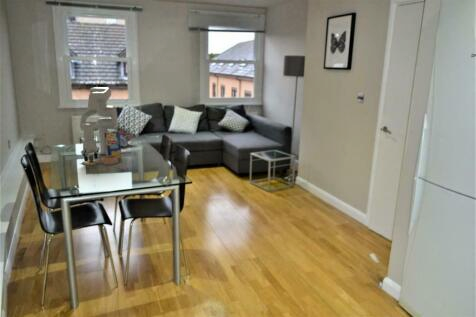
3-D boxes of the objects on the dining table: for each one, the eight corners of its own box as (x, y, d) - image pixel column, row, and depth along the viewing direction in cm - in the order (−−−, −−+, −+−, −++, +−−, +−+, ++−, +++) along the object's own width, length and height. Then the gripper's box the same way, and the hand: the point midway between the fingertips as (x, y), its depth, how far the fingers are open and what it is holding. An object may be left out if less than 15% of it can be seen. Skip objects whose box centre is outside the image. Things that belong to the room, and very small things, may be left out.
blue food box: (106, 158, 317) (104, 132, 312) (119, 156, 323) (117, 131, 318) (108, 159, 312) (106, 133, 307) (121, 158, 317) (119, 132, 312)
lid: (92, 160, 308) (91, 153, 307) (104, 162, 302) (103, 154, 301) (78, 163, 296) (77, 156, 295) (90, 165, 290) (89, 158, 289)
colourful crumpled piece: (104, 144, 355) (112, 128, 352) (108, 139, 376) (116, 124, 373) (123, 154, 360) (132, 138, 358) (126, 148, 381) (134, 133, 378)
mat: (92, 160, 308) (92, 160, 308) (103, 162, 302) (103, 162, 302) (79, 164, 297) (79, 163, 297) (90, 166, 291) (90, 165, 291)
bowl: (110, 160, 309) (109, 154, 307) (120, 162, 303) (120, 156, 302) (98, 163, 298) (98, 157, 297) (109, 165, 293) (109, 159, 292)
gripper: (94, 136, 304) (96, 157, 308) (76, 140, 289) (79, 161, 293) (101, 137, 300) (103, 158, 304) (83, 141, 286) (85, 162, 289)
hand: (91, 159), depth 299 cm, fingers open, 9 cm apart
